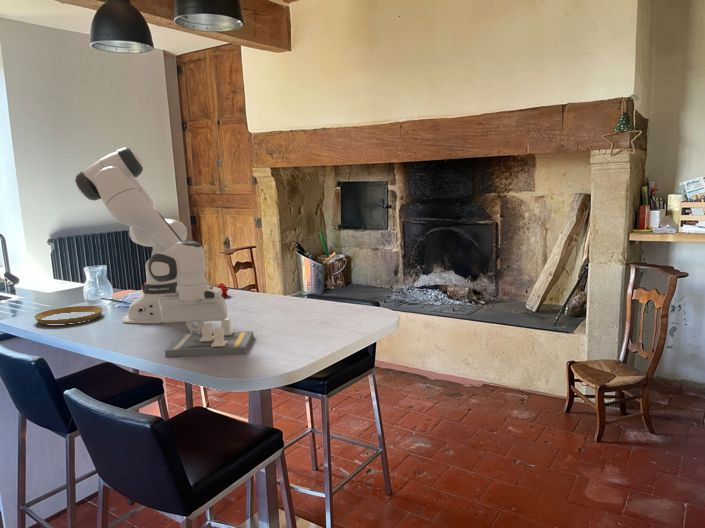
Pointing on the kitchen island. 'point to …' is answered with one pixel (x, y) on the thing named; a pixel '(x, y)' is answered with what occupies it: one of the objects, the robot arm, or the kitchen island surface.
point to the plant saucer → (68, 310)
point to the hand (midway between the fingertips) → (195, 334)
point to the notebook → (122, 293)
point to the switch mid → (207, 332)
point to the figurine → (224, 289)
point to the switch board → (209, 345)
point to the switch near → (218, 337)
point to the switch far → (227, 326)
